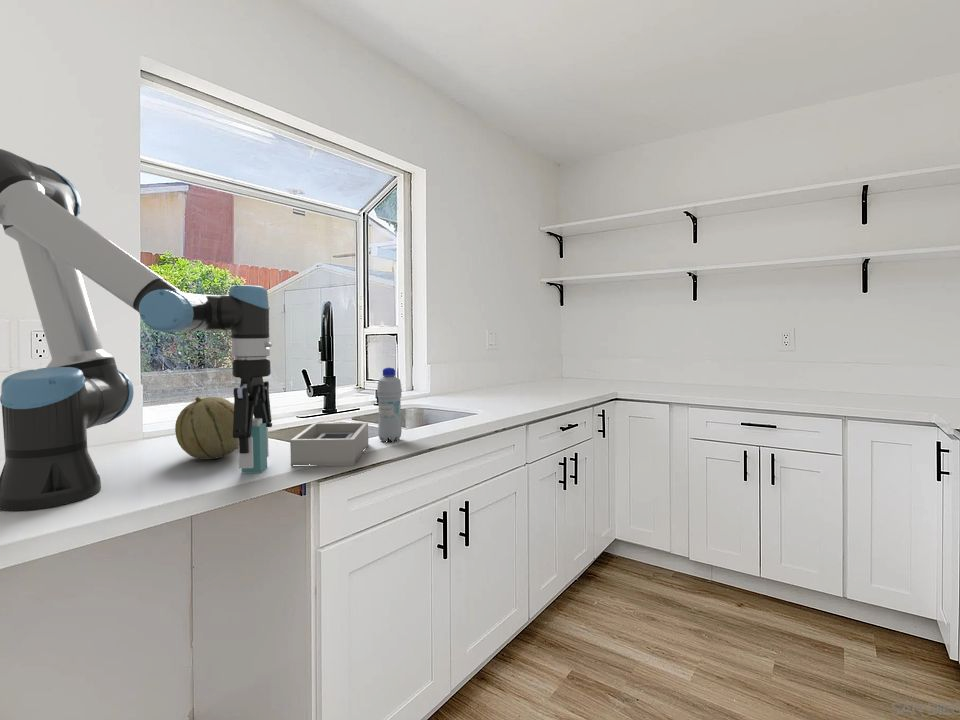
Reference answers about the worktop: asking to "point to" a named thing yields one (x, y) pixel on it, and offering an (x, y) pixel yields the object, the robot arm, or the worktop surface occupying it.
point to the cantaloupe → (206, 428)
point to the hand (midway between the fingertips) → (254, 462)
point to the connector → (258, 447)
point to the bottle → (389, 406)
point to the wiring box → (329, 444)
